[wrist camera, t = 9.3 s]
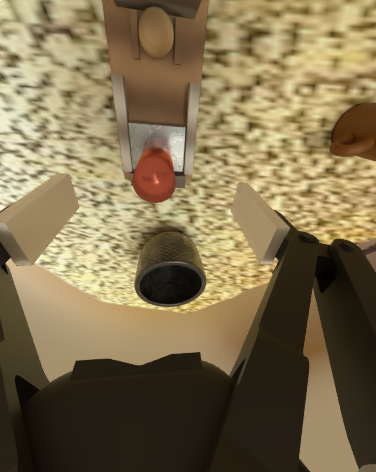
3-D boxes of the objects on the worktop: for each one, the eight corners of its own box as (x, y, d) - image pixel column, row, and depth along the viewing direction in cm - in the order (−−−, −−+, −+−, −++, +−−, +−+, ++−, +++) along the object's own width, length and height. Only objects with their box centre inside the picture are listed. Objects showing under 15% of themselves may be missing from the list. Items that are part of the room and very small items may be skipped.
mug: (304, 163, 36) (340, 179, 29) (308, 120, 31) (353, 126, 24) (366, 143, 35) (421, 154, 27) (380, 95, 30) (451, 94, 23)
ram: (132, 120, 27) (104, 137, 14) (182, 124, 28) (198, 144, 15) (136, 162, 30) (116, 206, 18) (180, 164, 31) (192, 208, 19)
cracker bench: (100, -46, 19) (63, -131, 12) (208, -25, 21) (231, -89, 14) (126, 175, 34) (117, 195, 27) (190, 178, 35) (196, 198, 28)
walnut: (153, 5, 21) (152, -16, 17) (179, 40, 23) (182, 27, 19) (133, 40, 22) (128, 27, 19) (159, 70, 24) (158, 63, 21)
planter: (133, 255, 46) (124, 300, 36) (153, 212, 39) (149, 252, 29) (181, 269, 51) (186, 312, 41) (207, 232, 44) (220, 273, 34)
